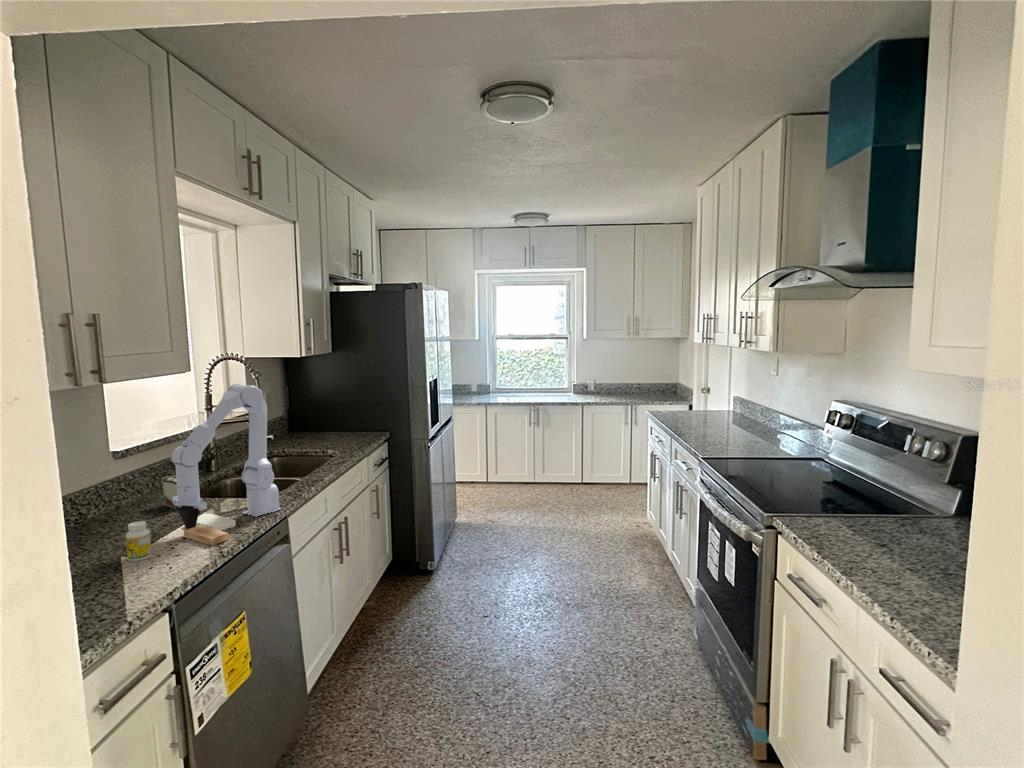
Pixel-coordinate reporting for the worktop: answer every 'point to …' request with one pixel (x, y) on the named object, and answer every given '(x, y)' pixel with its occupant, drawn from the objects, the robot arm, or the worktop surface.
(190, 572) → the worktop surface
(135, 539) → the supplement bottle
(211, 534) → the tan flat block
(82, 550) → the worktop surface
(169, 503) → the food container
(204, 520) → the board
